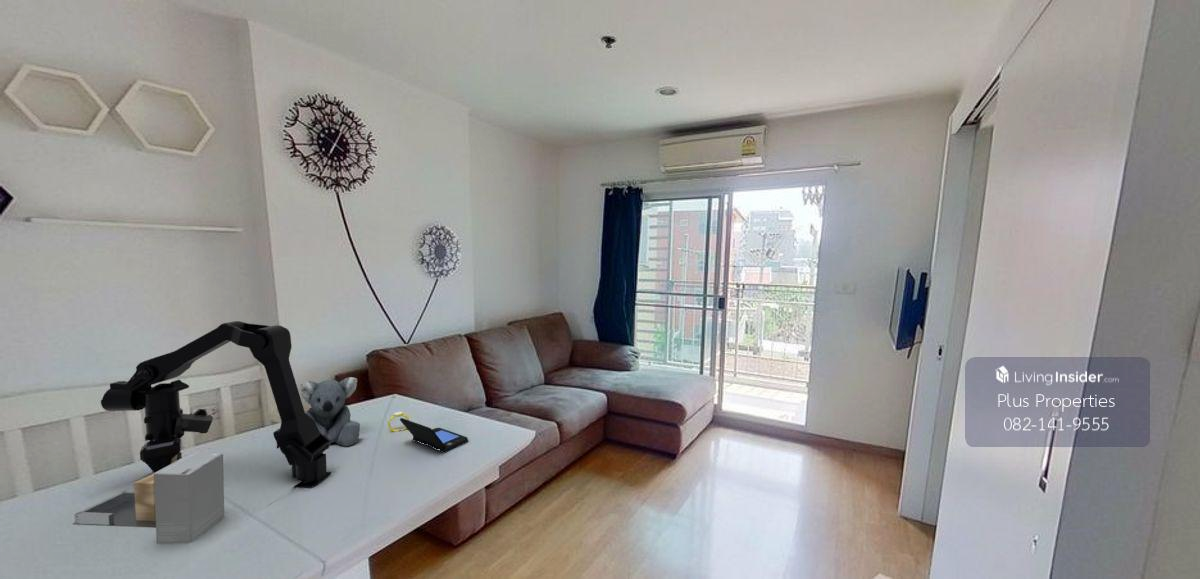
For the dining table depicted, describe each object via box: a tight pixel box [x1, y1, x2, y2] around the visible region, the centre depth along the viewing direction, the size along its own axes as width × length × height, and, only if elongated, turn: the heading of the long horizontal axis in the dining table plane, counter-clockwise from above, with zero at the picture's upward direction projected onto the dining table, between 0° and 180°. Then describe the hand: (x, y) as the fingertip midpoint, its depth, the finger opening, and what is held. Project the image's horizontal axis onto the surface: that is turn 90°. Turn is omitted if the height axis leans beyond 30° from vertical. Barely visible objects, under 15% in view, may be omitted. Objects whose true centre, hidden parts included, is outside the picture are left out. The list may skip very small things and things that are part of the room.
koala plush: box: [299, 376, 361, 447], centre depth 126 cm, size 17×18×20 cm
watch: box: [388, 411, 410, 432], centre depth 133 cm, size 6×3×6 cm, turn 113°
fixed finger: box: [133, 474, 156, 521], centre depth 86 cm, size 5×5×8 cm
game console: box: [399, 417, 469, 453], centre depth 124 cm, size 16×14×9 cm
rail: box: [72, 490, 156, 529], centre depth 87 cm, size 18×9×4 cm, turn 88°
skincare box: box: [153, 451, 225, 545], centre depth 81 cm, size 8×7×16 cm
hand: (166, 472), depth 99 cm, fingers open, 9 cm apart
